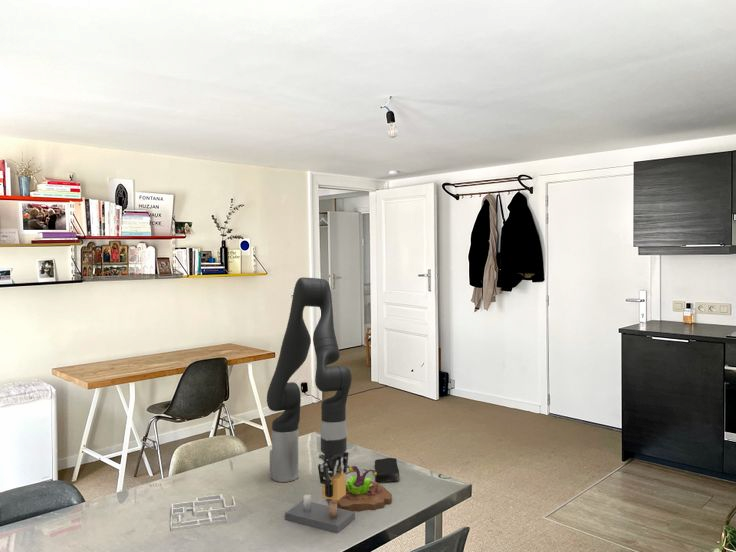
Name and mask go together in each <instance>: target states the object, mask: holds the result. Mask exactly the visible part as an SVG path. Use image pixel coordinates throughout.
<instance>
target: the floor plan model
mask: <svg viewBox="0 0 736 552" xmlns="http://www.w3.org/2000/svg"><path fill="white" fill-rule="evenodd" d="M231 498H232V499H231V500H232V501H231V502H232V505H226V501H225V497H223V494H222V493H221V494H220V493H219V494H213V495H206V496H198V497H195V500H192V501H185V502H184V501H182V502H178V503H177V502H176V503H171V515H170V531H180V530H186V529H194V528H200V527H203V526H204V527H205V526H211V525H217V524H224V523H228V518H227V517H228V516H227V512H228V513H229V512H235V511H236V509H237V506H236V502H235V497H234V496H231ZM218 503H223V504H222V505H223V507H221V508H214V509H213V506H210V507H209V509H205V510H204V506H203V505H211V504H218ZM197 506H202V507H200V508H201V510H198V511H196V508H195V507H197ZM188 507H189V508H188ZM185 508H186V512H188V513H189V512H193V514H192V515H193V517H195V516H196V517H203V516H208V517H207V518H200V519H194V520H190V519H189V518H187V519H186V520H185V521H182V519H181V518H185ZM217 514H222V515H217ZM212 515H216V516H215V517H212ZM173 519H178V521H174V522H172V521H173ZM179 525H181V526H179Z"/></svg>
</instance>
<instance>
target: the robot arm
mask: <svg viewBox="0 0 736 552" xmlns="http://www.w3.org/2000/svg"><path fill="white" fill-rule="evenodd" d="M294 285H295V286H294V288H293V294H292V300H291V304H290V312H289V316H288V321H287V325H286V329H285V331H284V335H283V339H282V342H281V347H280V352H279V355H278V356H279V357H278V359H277V362H276V363H277V364H276V366H275V370H274V373H273V376H272V378H271V380H270V383H269V385H268V390H267V394H266V403H267V404H266V405H267V407H268V409H269V410H271V412H282V413H281V414H280V415H279V416H278V417H276V418H275V419H273V420H272V422H271V449H270V450H269V478H270V479H272V480H273V481H275V482H280V483H288V482H293V481H296V480H297V479H298V478H299V425H300V420H301V402H302V397H301V390H300V387H299V385H298V384H297V383H296V382H294V381H293V382H288V381H290V379H291V377H292V376H293V375H294V374H295V373H296V372H297V371H298V370H299V368H301V366H302V365H303V364H304V363H305V361H306V360H307V358H308V356H309V355H308V353H309V351H310V347H311V343H312V342H313V343H312V344H313V347H314V352H315V359H316V360H315V361H316V368H315V369H316V370H315V376H314V377H315V379H314V383H315V386H316V388H317V389H318V390H319V391H320V392H322V393H324V392H325V393H326V392H335V394H334V395H332V396H331V397H328V398H326V399H323V400H322V402H321V423H320V452H321V453H323V455H325V457H324V460H323V462H322V464H320V463H318V464H317V470H318V477H319V482H320V484H321V485H322V484H325V496H326V497H332V496H333V478H334V476H335V475H336V472H338V473H343V474H344V473H348V471H347V470H348V468H347V465H348V461H349V452H348V451H347V449H348V447H347V442H348V439H347V436H348V435H347V420H346V413H347V412H346V409H347V408H346V405H347V402H348V401H347V400H348V395H349V393H350V390H351V389H350V388H351V385H352V380H353V377H352V375H353V374H352V372H351V370H350V369H349V368H348V366H346V365H337V366H336V365H334V366H329V365H331V364H334V363H336V362H337V361H338V360H339V359H340V355H341V354H340V350H339V346H338V345H339V344H338V341H337V337H336V332H335V323H334V312H333V311H334V310H333V301H332V300H333V297H332V291H331V286H330V283H329V282H328V280H326V279H325V278H318V277H305V276H303V277H299V278H298V279H297V280H296V282H295V284H294ZM305 307H310V308H311V307H312V308H313V307H315V308H319V309H320V316H319V317H320V318H319V320H318V322H317V324H316V326H315V327H314V328H315V329H314V331H313V335H312V339H311V335H310V332H309V330H308V327H307V325H306V323H305V320H304V310H305ZM343 464H344V465H343ZM331 471H332V473H329V472H331ZM329 476H330V480H329ZM323 477H324V479H323Z"/></svg>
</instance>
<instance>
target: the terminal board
mask: <svg viewBox="0 0 736 552" xmlns="http://www.w3.org/2000/svg"><path fill="white" fill-rule="evenodd" d="M284 513H285V514H284V520H286V521H289V522H293V523H297V524H301V525H305V526H309V527H312V528H316V529H321V530H325V531H328V532H333V533H336V534H339V533H340V532H341V531H342V530H344V529H345V528H346V527H347V526H349V525H350V524H351V523H352V522H353V521H354V520H355V519H356V511H349V510H344V509H340V508H337V501H335V500H332V501H330V504H329V505H327V504H321V503H317V502H313V501H312V495H311V494H304V495H303V500H302V501H301V502H299V503H298V504H296V505H294V506H293V507H291V508H290V509H289V510H287V511H285V512H284Z"/></svg>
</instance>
